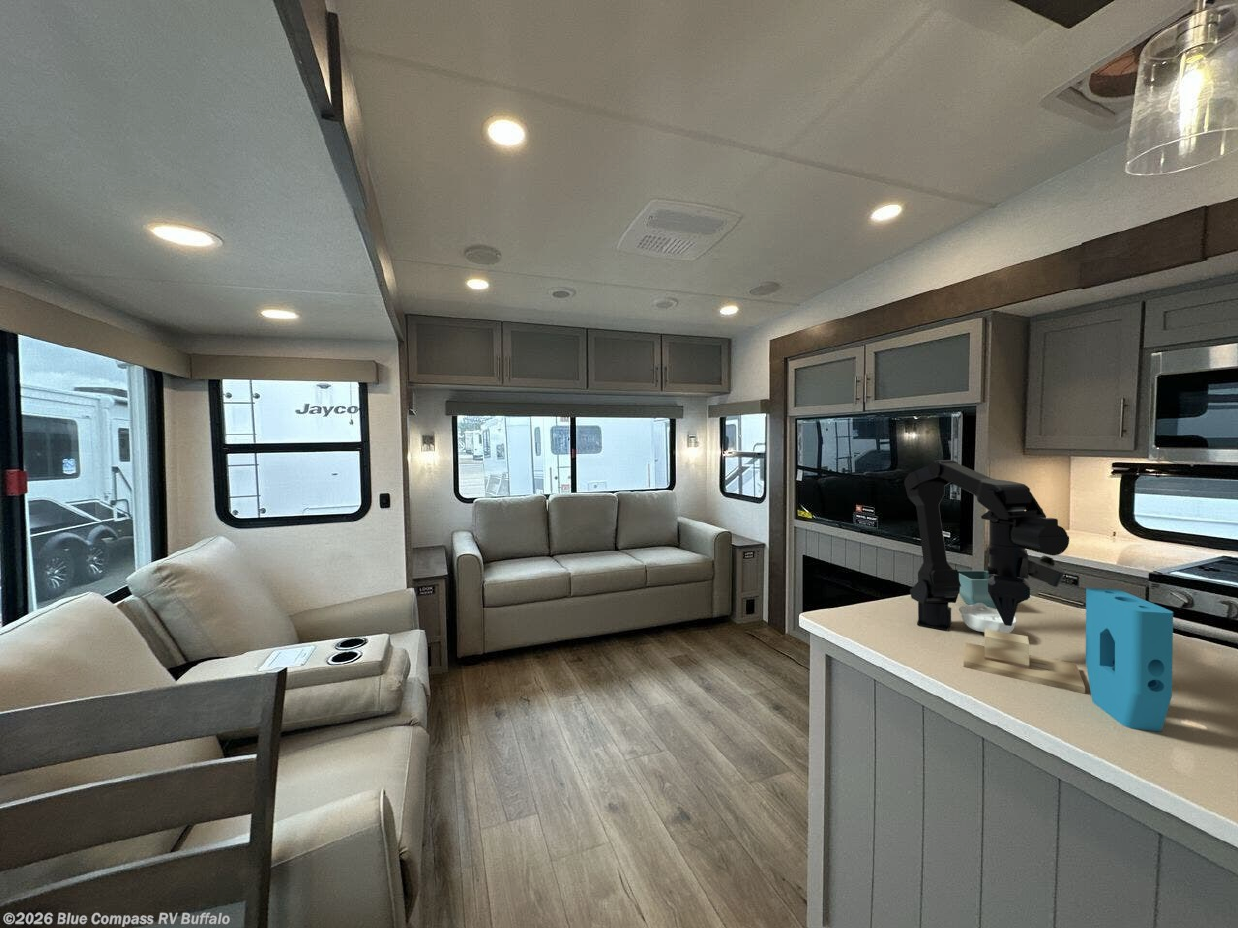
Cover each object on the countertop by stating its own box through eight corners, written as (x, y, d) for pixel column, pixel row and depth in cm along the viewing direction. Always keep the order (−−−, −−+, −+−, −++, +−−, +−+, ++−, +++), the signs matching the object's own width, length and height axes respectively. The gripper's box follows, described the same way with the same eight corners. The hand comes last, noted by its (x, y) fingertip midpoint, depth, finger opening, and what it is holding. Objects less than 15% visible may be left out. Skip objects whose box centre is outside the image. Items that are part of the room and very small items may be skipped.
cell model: (991, 645, 105) (990, 616, 105) (948, 624, 117) (948, 598, 117) (1030, 641, 106) (1030, 613, 106) (984, 622, 118) (984, 596, 118)
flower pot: (971, 611, 126) (970, 579, 125) (953, 600, 134) (953, 570, 134) (1007, 612, 124) (1006, 579, 124) (986, 601, 133) (986, 570, 133)
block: (1082, 694, 85) (1083, 587, 84) (1116, 697, 83) (1118, 589, 82) (1134, 734, 73) (1135, 611, 72) (1175, 738, 72) (1177, 613, 71)
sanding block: (984, 659, 96) (984, 636, 96) (984, 651, 100) (984, 628, 100) (1029, 668, 92) (1029, 644, 92) (1027, 659, 95) (1027, 636, 95)
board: (963, 666, 96) (963, 660, 96) (965, 647, 105) (965, 642, 105) (1085, 693, 85) (1085, 687, 85) (1076, 669, 93) (1076, 663, 93)
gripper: (1067, 558, 82) (1067, 643, 83) (1055, 539, 97) (1055, 612, 97) (987, 551, 89) (988, 629, 90) (987, 534, 104) (988, 602, 104)
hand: (1007, 618), depth 95 cm, fingers open, 9 cm apart
